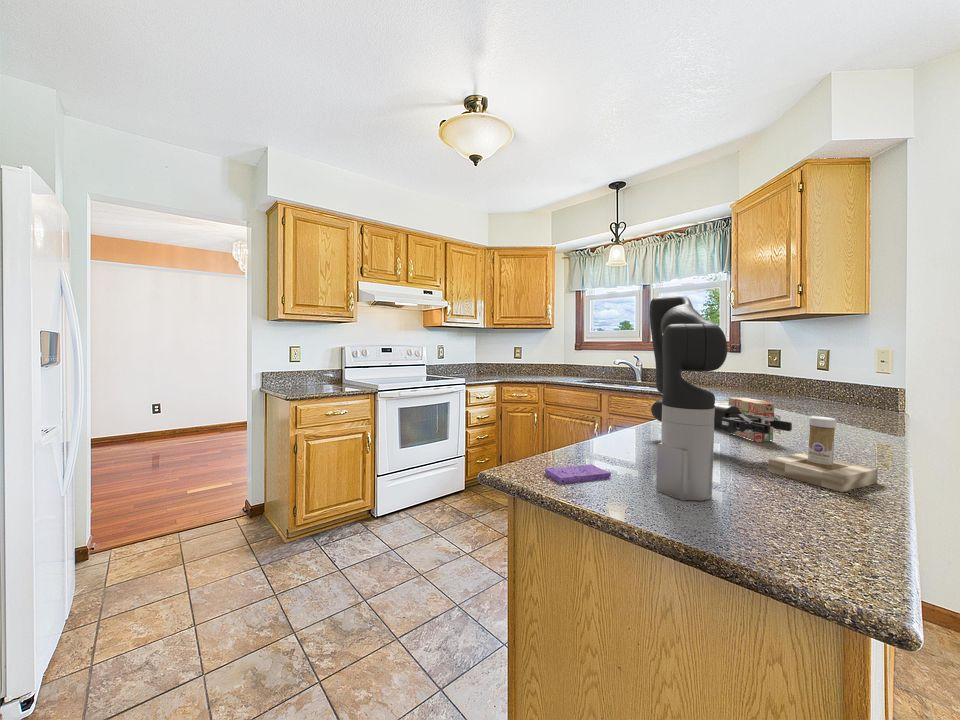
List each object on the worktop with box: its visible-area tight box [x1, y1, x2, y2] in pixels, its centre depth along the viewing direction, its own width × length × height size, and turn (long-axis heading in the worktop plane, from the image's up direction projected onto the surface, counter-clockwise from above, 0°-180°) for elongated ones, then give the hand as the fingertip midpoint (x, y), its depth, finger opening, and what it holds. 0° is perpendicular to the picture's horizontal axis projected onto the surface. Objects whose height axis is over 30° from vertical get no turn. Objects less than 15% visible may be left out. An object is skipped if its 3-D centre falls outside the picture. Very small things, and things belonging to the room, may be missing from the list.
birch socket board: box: [767, 452, 879, 493], centre depth 90 cm, size 14×14×3 cm
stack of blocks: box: [717, 397, 775, 442], centre depth 134 cm, size 21×6×12 cm, turn 4°
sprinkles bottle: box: [807, 415, 837, 470], centre depth 90 cm, size 5×5×14 cm
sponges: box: [544, 464, 612, 485], centre depth 89 cm, size 7×13×2 cm, turn 109°
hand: (780, 428), depth 98 cm, fingers open, 8 cm apart
